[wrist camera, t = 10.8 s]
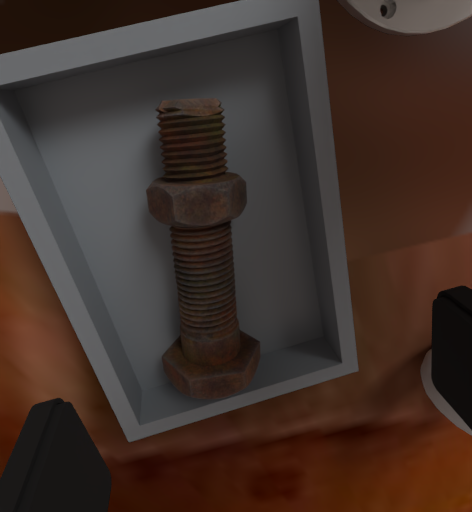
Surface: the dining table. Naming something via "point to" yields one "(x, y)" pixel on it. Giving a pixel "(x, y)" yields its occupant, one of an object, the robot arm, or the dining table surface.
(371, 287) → the dining table surface
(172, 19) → the bin
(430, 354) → the donut
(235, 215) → the bolt
